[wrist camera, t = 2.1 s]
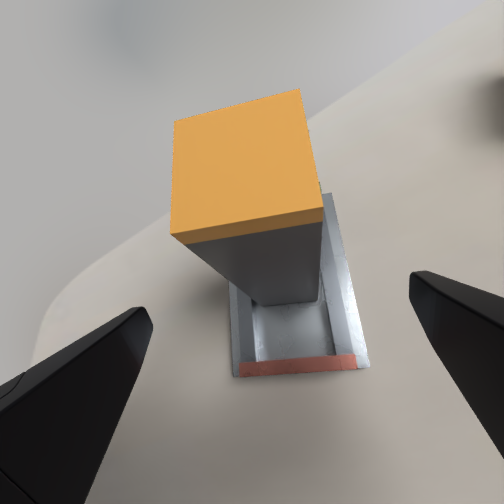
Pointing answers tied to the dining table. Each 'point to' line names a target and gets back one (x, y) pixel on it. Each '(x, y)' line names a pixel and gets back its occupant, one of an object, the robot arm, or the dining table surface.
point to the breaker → (251, 197)
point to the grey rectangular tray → (302, 320)
